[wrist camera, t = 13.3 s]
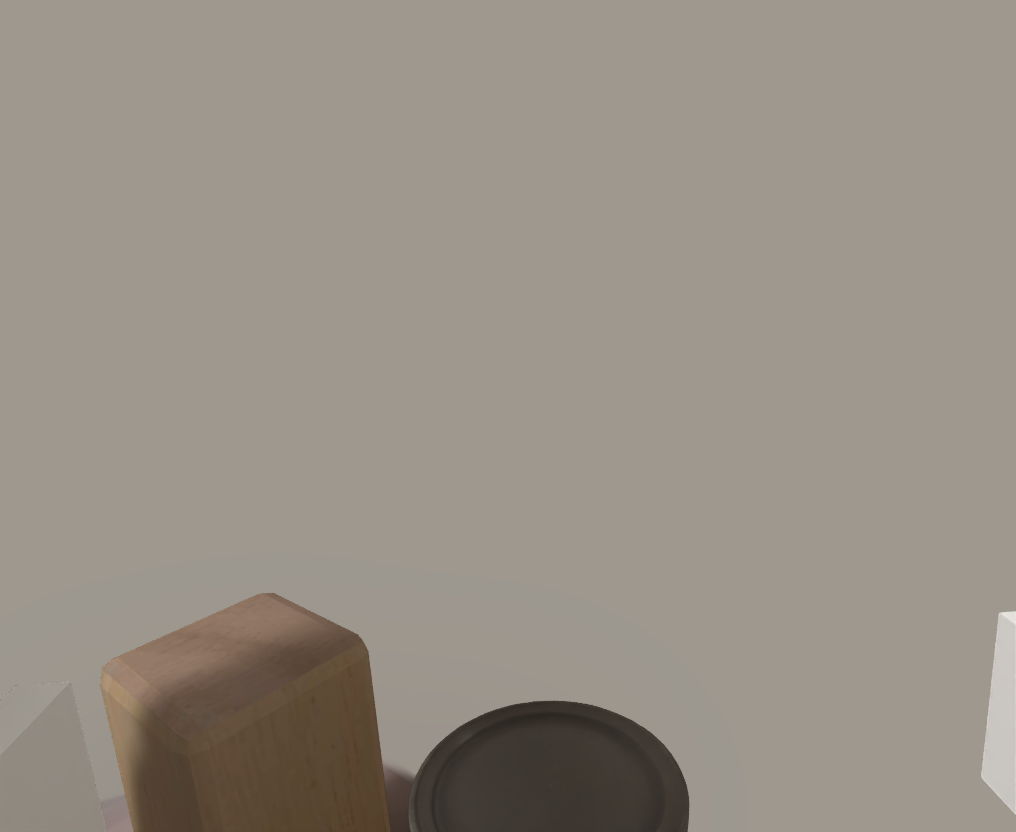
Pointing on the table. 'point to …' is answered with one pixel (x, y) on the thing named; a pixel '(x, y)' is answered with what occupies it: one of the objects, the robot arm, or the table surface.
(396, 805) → the table surface
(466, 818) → the coffee can
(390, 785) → the table surface
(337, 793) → the wooden block
